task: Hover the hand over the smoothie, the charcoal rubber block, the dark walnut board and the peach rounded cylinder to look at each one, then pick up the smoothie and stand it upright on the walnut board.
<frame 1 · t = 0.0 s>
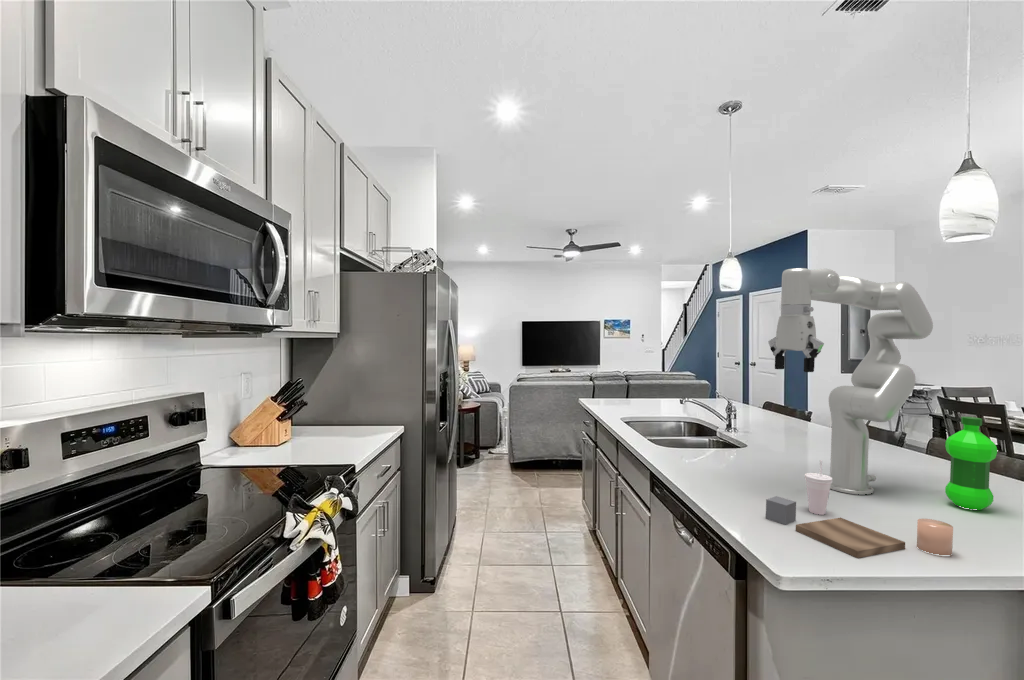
hand: (793, 370, 144), 37 cm above the countertop, tool pointing down, fingers open, 9 cm apart
smoothie: (817, 513, 132), on the countertop
rubber block: (780, 520, 126), on the countertop
plastic bottle: (968, 508, 137), on the countertop
peach rounded cylinder: (934, 550, 110), on the countertop
walnut board: (848, 539, 115), on the countertop
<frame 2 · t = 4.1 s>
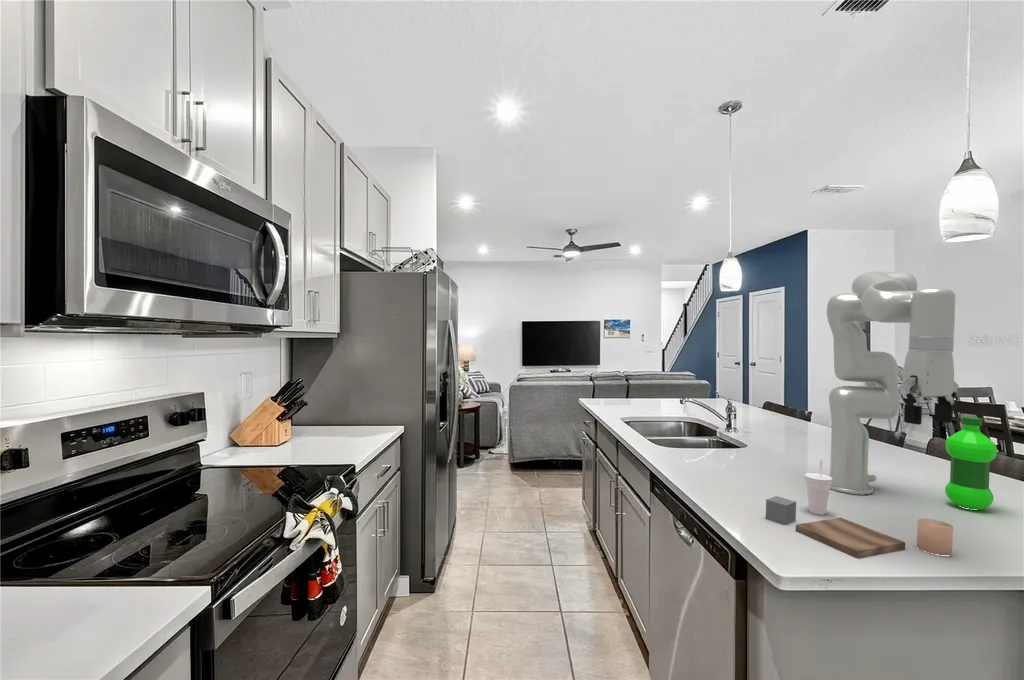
hand: (927, 422, 109), 28 cm above the countertop, tool pointing down, fingers open, 9 cm apart
nothing on the countertop moved.
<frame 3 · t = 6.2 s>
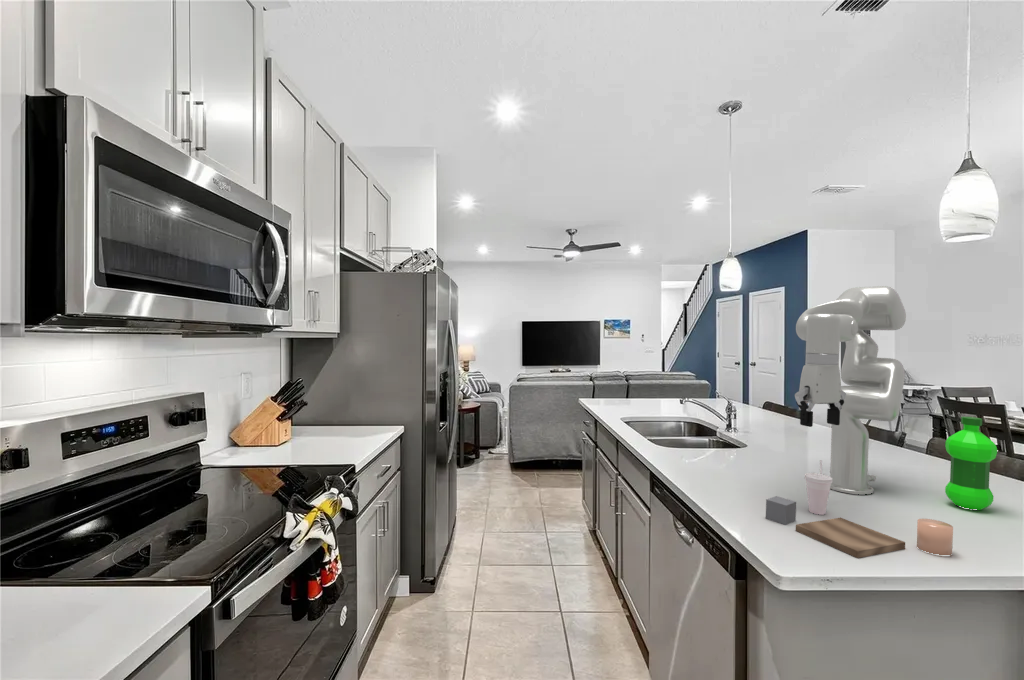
hand: (819, 425, 131), 23 cm above the countertop, tool pointing down, fingers open, 9 cm apart
nothing on the countertop moved.
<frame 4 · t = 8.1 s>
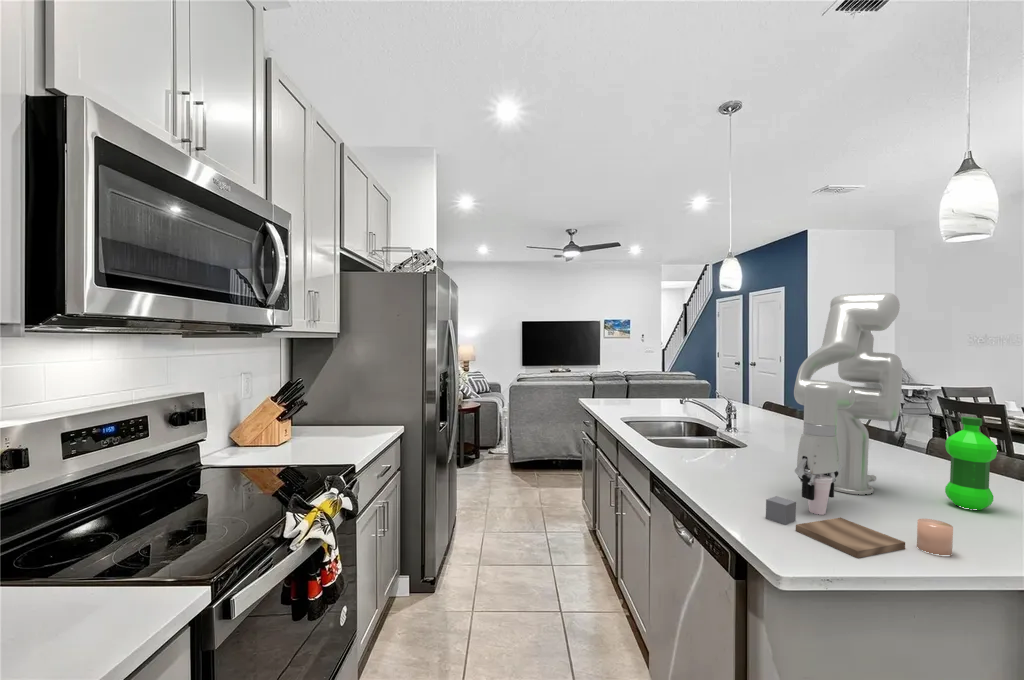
hand: (817, 496, 132), 4 cm above the countertop, tool pointing down, fingers closed on smoothie, 6 cm apart
smoothie: (817, 513, 132), on the countertop, touching gripper
everything else where it was.
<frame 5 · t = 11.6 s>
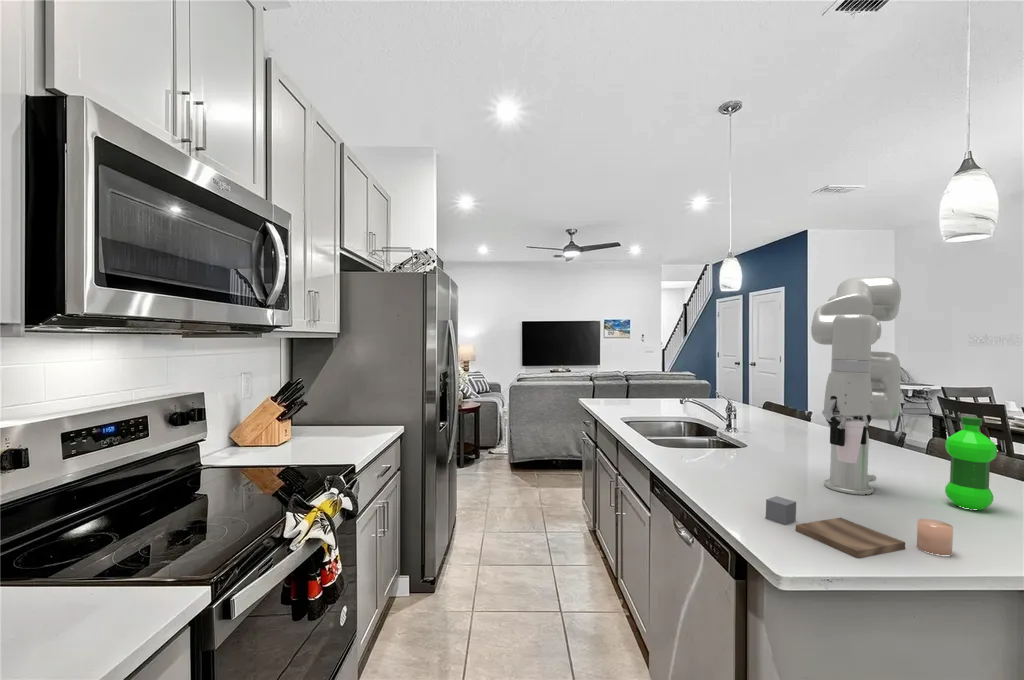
hand: (847, 443, 116), 22 cm above the countertop, tool pointing down, fingers closed on smoothie, 6 cm apart
smoothie: (847, 461, 116), point 18 cm above the countertop, touching gripper
everything else where it was.
when the fingers open (7 cm above the countertop, at t = 15.1 s): smoothie drops 1 cm, resting on walnut board.
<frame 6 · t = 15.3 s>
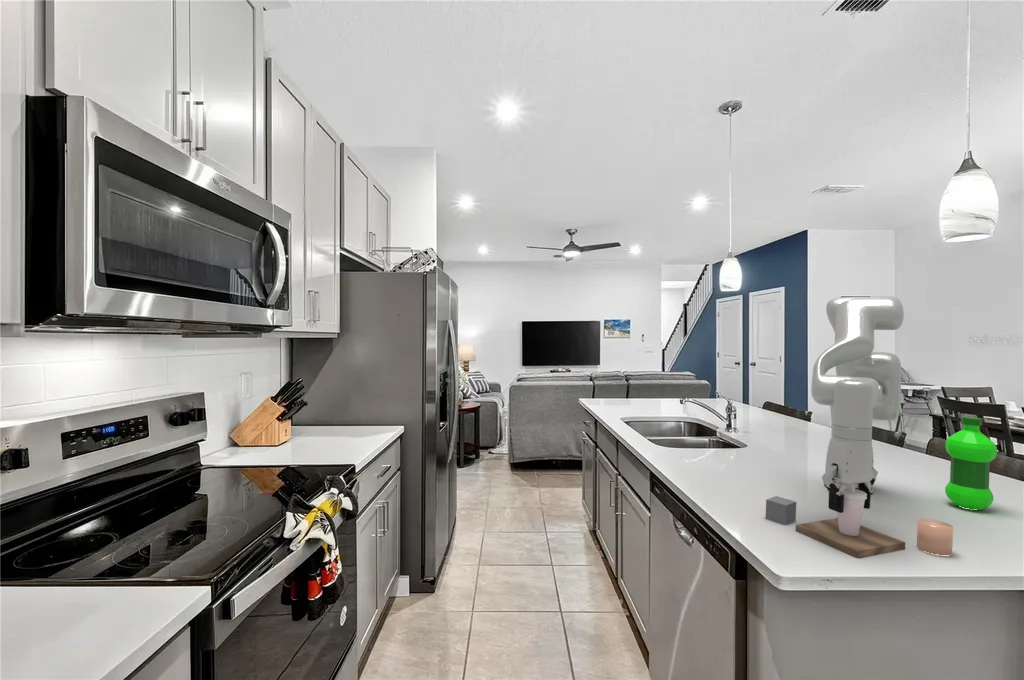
hand: (849, 508, 114), 7 cm above the countertop, tool pointing down, fingers open, 8 cm apart
smoothie: (848, 533, 115), point 1 cm above the countertop, touching walnut board
everything else where it was.
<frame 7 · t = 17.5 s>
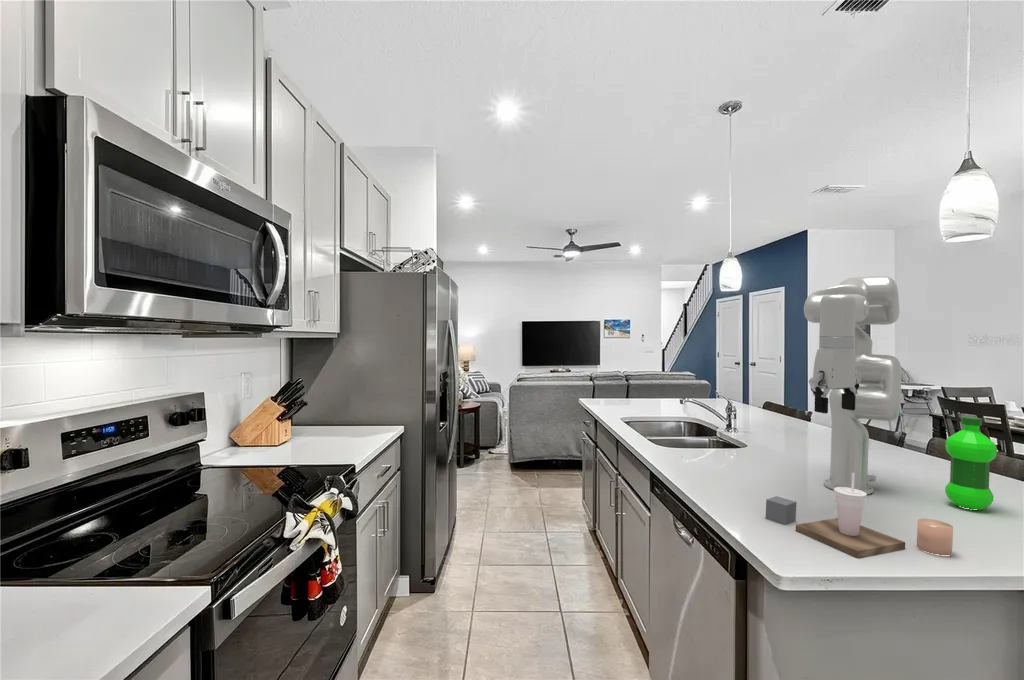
hand: (834, 411, 126), 28 cm above the countertop, tool pointing down, fingers open, 9 cm apart
nothing on the countertop moved.
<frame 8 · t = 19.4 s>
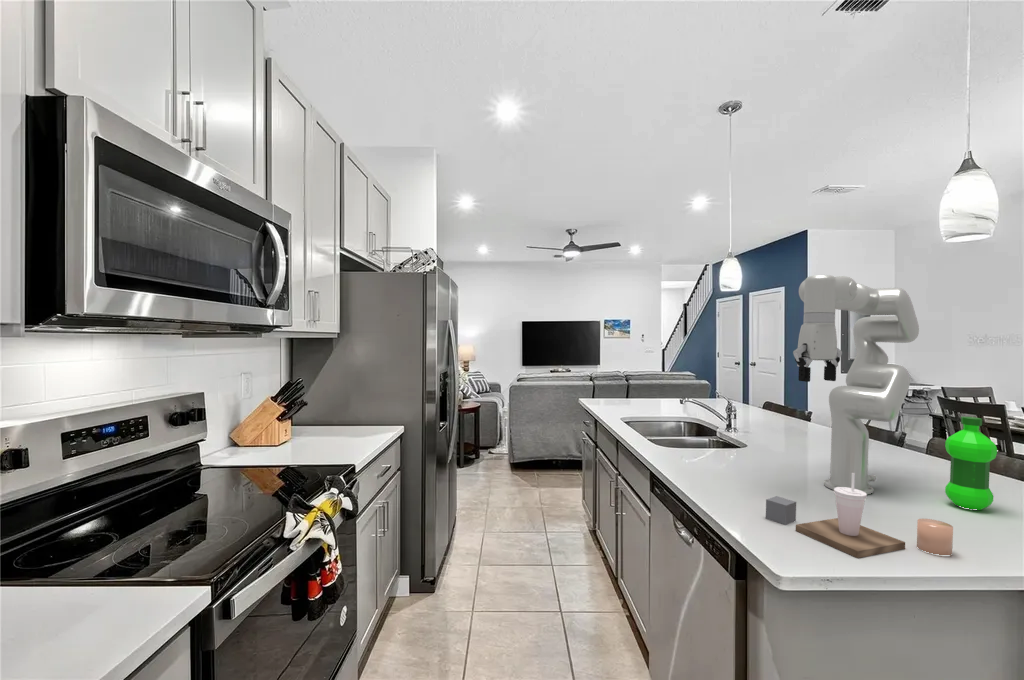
hand: (817, 380, 139), 34 cm above the countertop, tool pointing down, fingers open, 9 cm apart
nothing on the countertop moved.
at the end: smoothie inside the target area on the walnut board (0.4 cm from its centre), point 1.3 cm above the walnut board's base; smoothie tilted 0°; rubber block moved 0.1 cm from its start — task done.
